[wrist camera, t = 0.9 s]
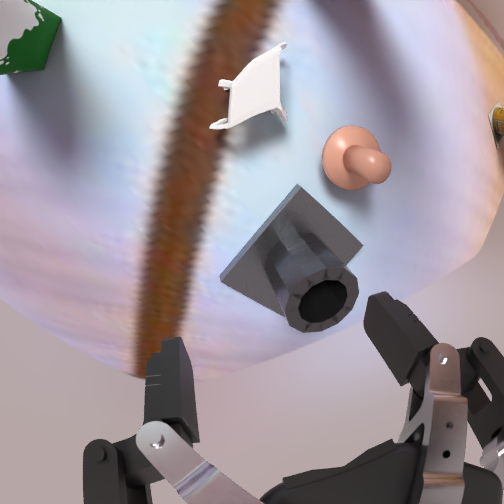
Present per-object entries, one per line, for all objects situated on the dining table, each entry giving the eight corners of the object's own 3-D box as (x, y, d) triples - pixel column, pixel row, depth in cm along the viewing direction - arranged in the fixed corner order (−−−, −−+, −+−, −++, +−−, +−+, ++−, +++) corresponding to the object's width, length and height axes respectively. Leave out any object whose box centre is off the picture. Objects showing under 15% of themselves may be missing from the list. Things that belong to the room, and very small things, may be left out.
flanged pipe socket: (297, 184, 35) (335, 212, 26) (358, 241, 41) (398, 277, 32) (219, 275, 39) (231, 327, 30) (289, 314, 45) (312, 362, 36)
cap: (340, 111, 31) (379, 115, 24) (375, 152, 35) (415, 167, 28) (301, 156, 33) (332, 171, 26) (340, 194, 37) (375, 217, 30)
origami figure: (273, 143, 32) (287, 148, 28) (204, 127, 30) (207, 129, 25) (300, 54, 27) (317, 47, 23) (232, 33, 25) (239, 21, 20)
